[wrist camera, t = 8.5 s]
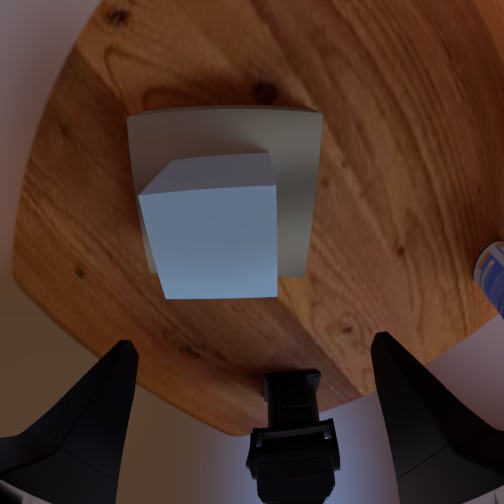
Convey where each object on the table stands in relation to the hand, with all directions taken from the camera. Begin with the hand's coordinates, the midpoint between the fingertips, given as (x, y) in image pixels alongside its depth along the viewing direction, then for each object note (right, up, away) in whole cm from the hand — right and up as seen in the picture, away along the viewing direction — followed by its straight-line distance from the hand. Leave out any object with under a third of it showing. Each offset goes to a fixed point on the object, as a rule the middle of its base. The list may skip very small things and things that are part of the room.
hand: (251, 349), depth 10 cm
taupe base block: (-2, +8, +9) cm, 12 cm away
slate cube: (-2, +6, +6) cm, 9 cm away
